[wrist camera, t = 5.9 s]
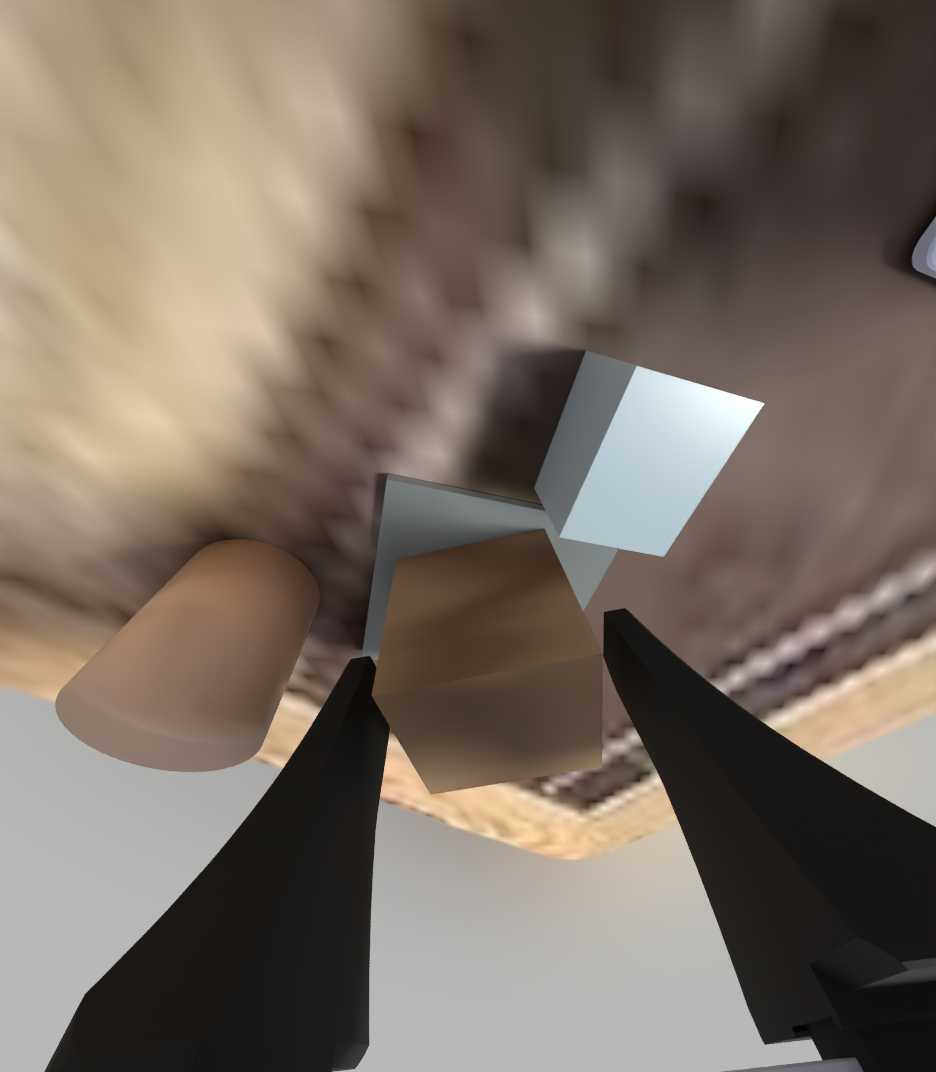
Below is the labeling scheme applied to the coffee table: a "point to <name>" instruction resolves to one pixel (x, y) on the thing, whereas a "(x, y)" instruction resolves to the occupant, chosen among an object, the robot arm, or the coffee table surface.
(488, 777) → the walnut block
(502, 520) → the slate coaster
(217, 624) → the tan rounded cylinder
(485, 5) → the coffee table surface
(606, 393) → the blue plastic box
